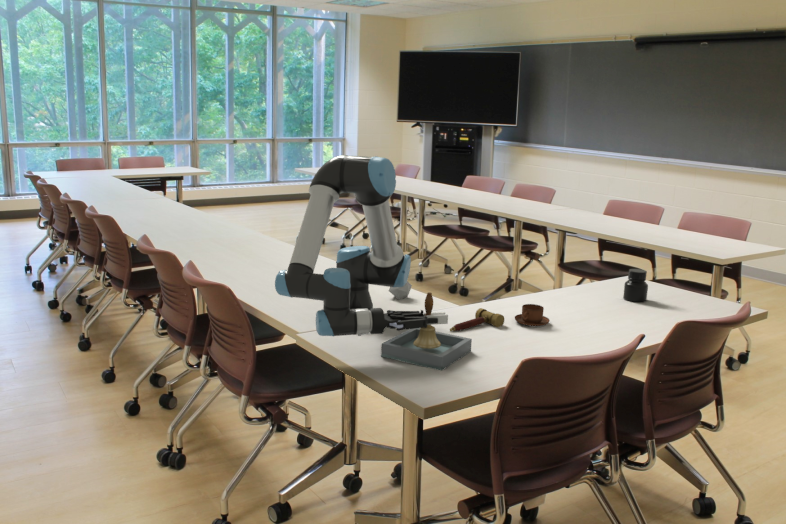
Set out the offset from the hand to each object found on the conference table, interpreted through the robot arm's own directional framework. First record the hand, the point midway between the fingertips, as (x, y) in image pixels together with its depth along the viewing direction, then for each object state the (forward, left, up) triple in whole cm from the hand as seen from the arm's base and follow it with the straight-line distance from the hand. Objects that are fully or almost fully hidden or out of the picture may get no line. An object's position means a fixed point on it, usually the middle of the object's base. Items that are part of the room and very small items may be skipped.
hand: (446, 317), depth 212 cm
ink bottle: (-102, +34, -11) cm, 108 cm away
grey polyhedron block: (-47, -43, -11) cm, 65 cm away
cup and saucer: (-46, +11, -11) cm, 48 cm away
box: (+4, -4, -11) cm, 12 cm away
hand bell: (+4, -4, -8) cm, 10 cm away
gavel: (-30, -4, -12) cm, 32 cm away
